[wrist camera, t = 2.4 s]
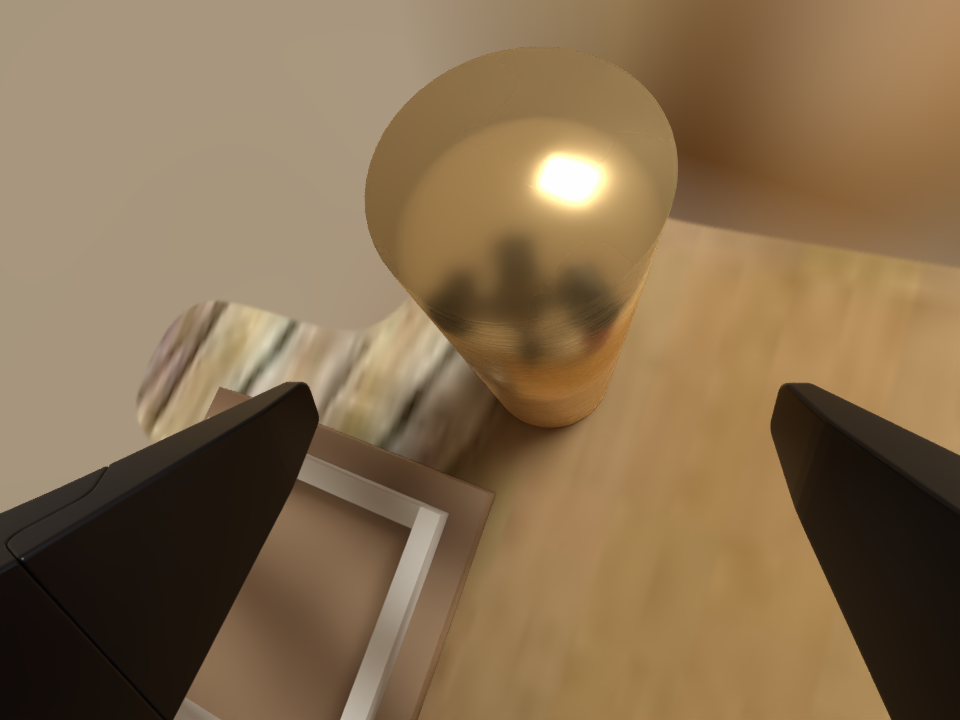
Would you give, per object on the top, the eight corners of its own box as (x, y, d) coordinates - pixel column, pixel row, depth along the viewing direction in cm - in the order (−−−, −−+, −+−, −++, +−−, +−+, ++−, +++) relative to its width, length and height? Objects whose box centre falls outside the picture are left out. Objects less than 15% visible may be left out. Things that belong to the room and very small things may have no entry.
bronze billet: (617, 423, 19) (704, 299, 6) (494, 431, 20) (360, 336, 7) (603, 307, 20) (652, 19, 8) (488, 319, 21) (367, 78, 9)
